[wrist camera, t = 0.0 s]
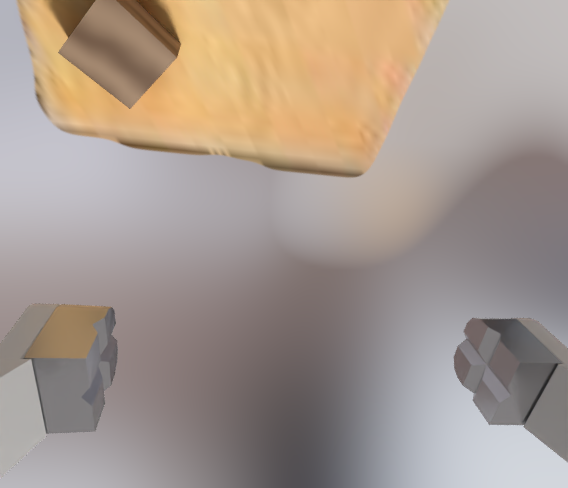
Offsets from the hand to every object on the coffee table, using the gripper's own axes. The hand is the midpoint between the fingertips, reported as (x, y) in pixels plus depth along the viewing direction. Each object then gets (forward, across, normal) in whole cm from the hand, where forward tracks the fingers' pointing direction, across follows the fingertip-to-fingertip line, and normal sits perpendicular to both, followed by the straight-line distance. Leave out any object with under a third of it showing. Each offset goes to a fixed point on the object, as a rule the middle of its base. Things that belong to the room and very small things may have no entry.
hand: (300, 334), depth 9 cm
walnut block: (+54, +16, -4) cm, 56 cm away
